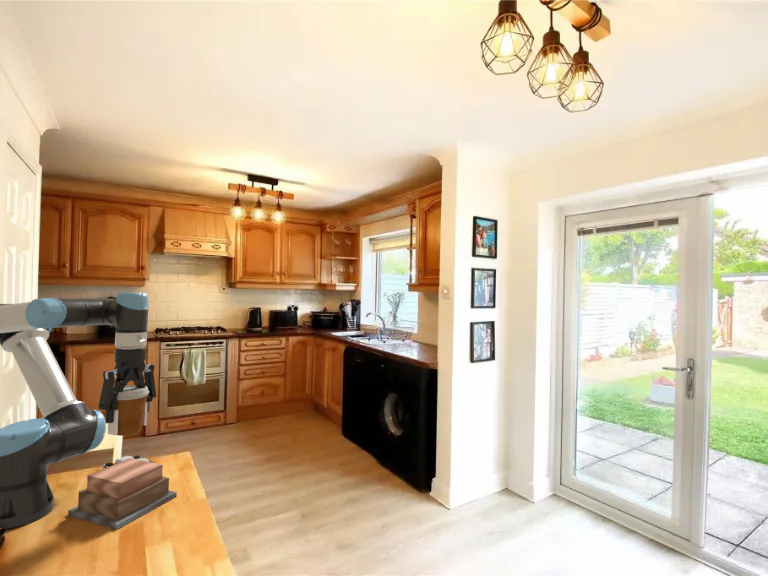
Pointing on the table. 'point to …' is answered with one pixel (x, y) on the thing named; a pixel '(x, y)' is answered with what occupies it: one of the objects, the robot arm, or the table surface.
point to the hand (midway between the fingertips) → (127, 429)
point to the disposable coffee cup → (131, 409)
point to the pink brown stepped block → (122, 493)
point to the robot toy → (125, 459)
